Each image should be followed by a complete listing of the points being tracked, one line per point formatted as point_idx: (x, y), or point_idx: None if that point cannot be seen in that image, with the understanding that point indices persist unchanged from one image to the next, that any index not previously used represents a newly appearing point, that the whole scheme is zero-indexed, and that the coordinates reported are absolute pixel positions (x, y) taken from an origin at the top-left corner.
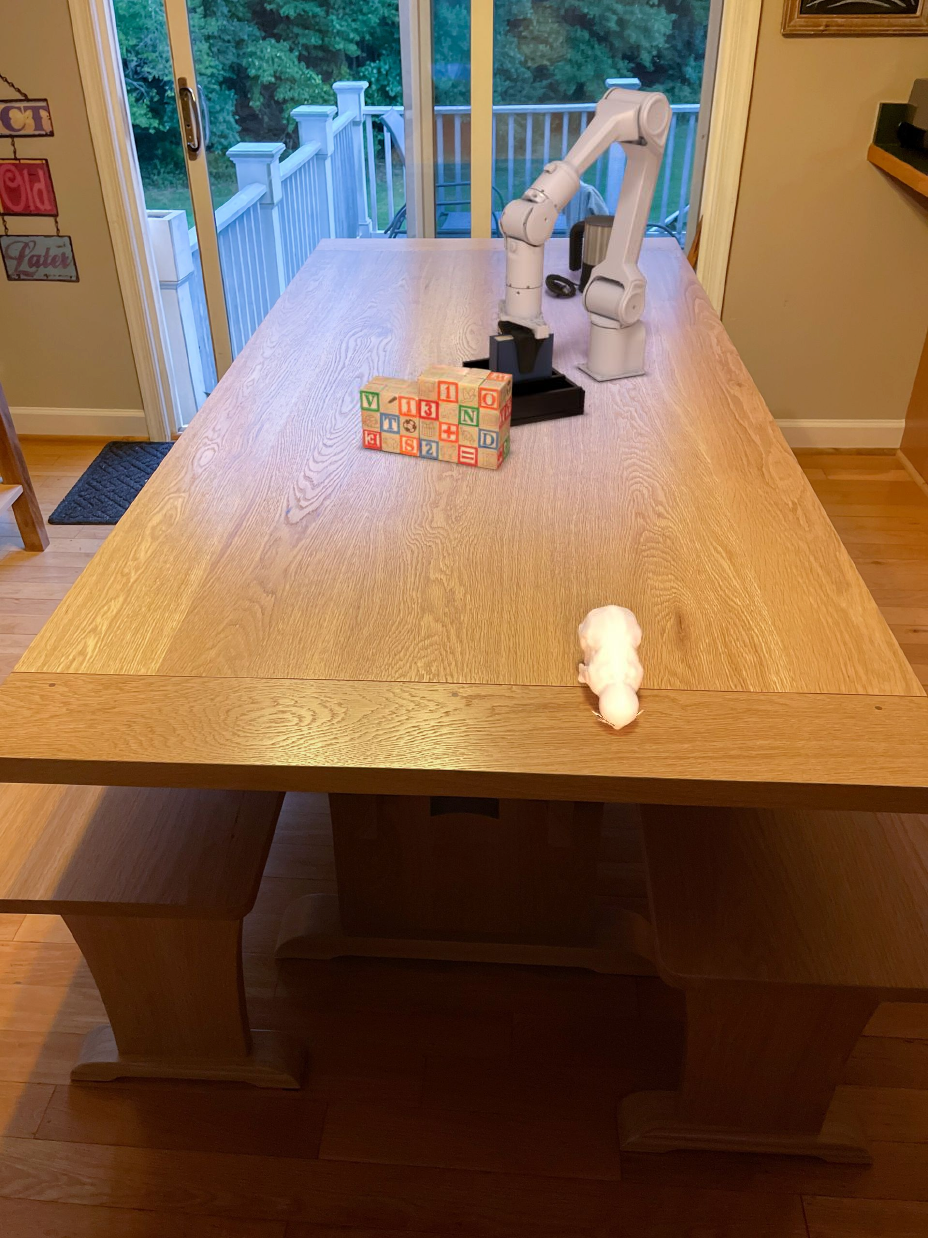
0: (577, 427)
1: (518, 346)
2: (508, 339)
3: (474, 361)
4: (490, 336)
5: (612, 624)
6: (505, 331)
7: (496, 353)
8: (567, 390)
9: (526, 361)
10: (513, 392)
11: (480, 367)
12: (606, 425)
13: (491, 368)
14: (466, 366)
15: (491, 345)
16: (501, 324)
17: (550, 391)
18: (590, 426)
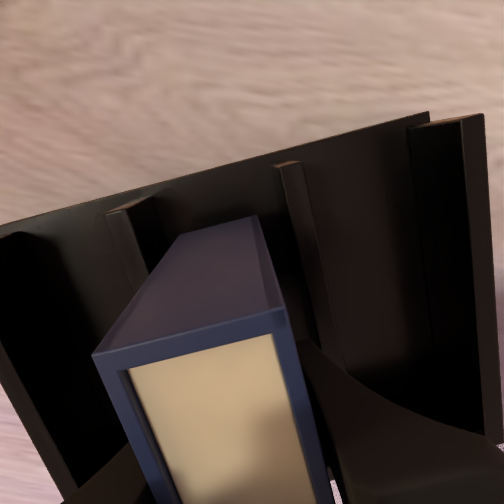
0: (24, 430)
1: (96, 484)
2: (151, 457)
3: (465, 180)
4: (263, 312)
5: None
6: (341, 467)
7: (137, 299)
8: (61, 493)
9: None
10: None
11: (446, 207)
12: (41, 498)
13: (226, 240)
14: (446, 135)
15: (229, 286)
16: (406, 496)
17: (45, 439)
18: (33, 462)
